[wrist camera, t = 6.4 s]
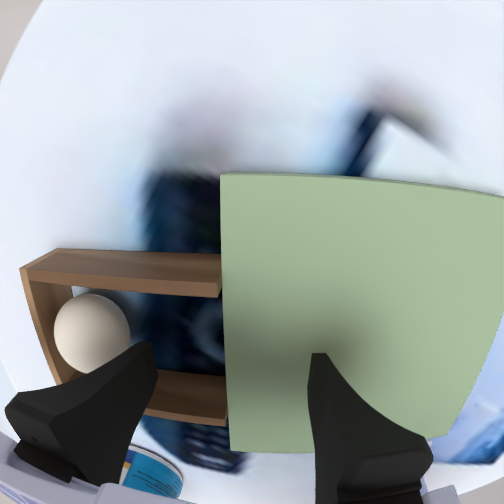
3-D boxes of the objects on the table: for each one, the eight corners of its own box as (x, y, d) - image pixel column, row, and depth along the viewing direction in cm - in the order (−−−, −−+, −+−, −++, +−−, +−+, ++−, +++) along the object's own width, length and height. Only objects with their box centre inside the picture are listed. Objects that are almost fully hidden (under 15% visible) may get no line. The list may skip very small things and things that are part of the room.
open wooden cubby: (234, 415, 18) (219, 504, 11) (95, 392, 19) (52, 457, 12) (230, 254, 15) (194, 332, 8) (56, 248, 15) (-27, 295, 9)
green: (435, 413, 17) (446, 434, 15) (235, 424, 18) (230, 450, 16) (500, 195, 13) (526, 203, 10) (229, 172, 14) (220, 175, 11)
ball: (56, 375, 14) (88, 326, 18) (120, 399, 14) (147, 341, 17) (27, 321, 11) (70, 271, 15) (97, 345, 11) (135, 284, 15)
